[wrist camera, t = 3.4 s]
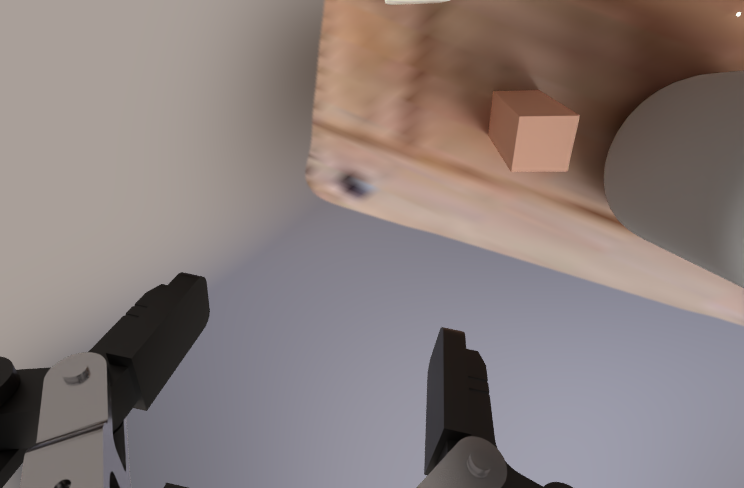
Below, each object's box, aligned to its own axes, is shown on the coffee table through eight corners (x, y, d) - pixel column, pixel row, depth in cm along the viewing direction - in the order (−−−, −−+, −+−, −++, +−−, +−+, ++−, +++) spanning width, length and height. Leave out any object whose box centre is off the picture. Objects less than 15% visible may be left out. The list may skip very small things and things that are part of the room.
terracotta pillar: (488, 135, 38) (511, 171, 29) (493, 90, 36) (519, 116, 27) (531, 134, 38) (567, 171, 29) (538, 90, 36) (580, 115, 27)
